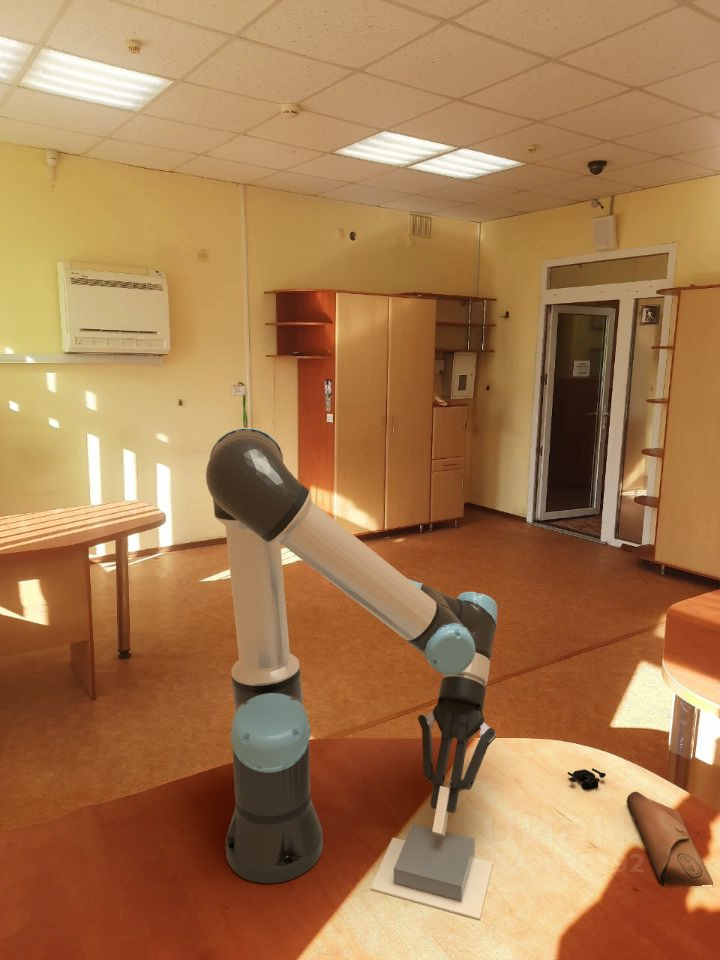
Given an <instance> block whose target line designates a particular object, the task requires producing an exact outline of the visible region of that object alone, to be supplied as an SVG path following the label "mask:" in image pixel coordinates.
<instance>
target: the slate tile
mask: <svg viewBox="0 0 720 960" xmlns="http://www.w3.org/2000/svg"><path fill="white" fill-rule="evenodd" d="M432 830H433V828H432V827H431V828H430V827H428V826H427V827H426V826H423V825H418V824H414V823H412V824H411V827H410V829H409V830H408V833H407V836H406V838H405V843H404V845H403V848H402V850H401V853H400V855H399V857H398V860H397V862H396V865H395V867H394V883H397V884H400V885H404V886H408V887H411V888H415V889H419V890H422V891H426V892H430V893H433V894H437V895H441V896H445V897H448V898H452V899H456V900H459V901H461V900H462V897H463V893H464V889H465V886H466V882H467V878H468V875H469V871H470V867H471V864H472V860H473V857H474V856H475V852H476V851H475V850H476V848H475V847H476V846H475V845H476V844H475V843H476V838H474V837H473V838H472V837H468V836H464V835H460V834H456V833H452V832H448V831H445V836H441V835H437V834H435V833H434V832H432Z"/></svg>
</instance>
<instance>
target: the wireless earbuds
mask: <svg viewBox="0 0 720 960" xmlns="http://www.w3.org/2000/svg"><path fill="white" fill-rule="evenodd" d="M593 772H594V773H593ZM595 773H597V774H598V776H599V778H598V777H596V775H595ZM567 775H568V776H570V777H569V779H568V780H569V781H570V782H572V783H576V782H577V781H578V782H580V783H581V784H580V786H581V789H583V790H585V791H588V790H594V788H595V789H598V788H599V782H600V779H603V778H605V777H606V775H607V774H606V772H601V771H599V770H597V769H595V768H591V771H589V770H588V769H584V768H583V769H579V770H578V769H577V770H575V771H573V772H572V773H571V771H567Z"/></svg>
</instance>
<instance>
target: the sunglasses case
mask: <svg viewBox="0 0 720 960" xmlns="http://www.w3.org/2000/svg"><path fill="white" fill-rule="evenodd" d="M626 805H627V808H628V810H629V813H630V815H631V817H632V818H633V821H634V823H635V826H636V828H637V830H638V833H639V835H640V837H641V840H642V842H643V844H644V847H645V850H646V852H647V854H648V856H649V860H650V862H651V864H652V867H653V870H654V872H655V874H656V876H657V877H656V878H658V880H659V882H660V883H661V884H662V886H663V887H664V886H669V885H670V886H669V887H671V886H673V885H678V886H677V887H680V886H679V885H686V886H685V887H689V886H702V885H712V886H713V884H714V882H713V879H712V877H711V875H710V873H709V870H708V869H707V867H706V865H705V863H704V861H703V860H702V859H703V858H701V856H700V853H699V851H698V849H697V848H696V846H695V843H694V842H693V839H692V838H691V835H690V834H689V832H688V830H687V827H686V825H685V823H684V820H683V819H682V817H681V813H680V812H679V810H678V809H676V810H675V808H672V807H669V806H666V805H664V804H662V803H659V802H658V801H656V800H654V799H650V798H648V797H646V795H644V794H642V793H641V792H638V791H632V792H630V793H629V794H628V796H627V797H626ZM677 810H678V811H677ZM673 887H674V886H673Z"/></svg>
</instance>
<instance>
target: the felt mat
mask: <svg viewBox="0 0 720 960" xmlns="http://www.w3.org/2000/svg"><path fill="white" fill-rule="evenodd" d="M405 841H406V839H405V840H404V839H401V838H396V837H392V838H391V841H390V843H389V845H388V848H387V849H386V852H385V854H384V856H383V859H382V860H381V863H380V865H379V866H378V870H377V872H376V874H375V877H374V879H373V880H372V884H371V885H370V888H369V890H371V891H373V892H376V893H381V894H384V895H388V896H392V897H394V898H395V897H396V898H398V899H401V900H402V899H403V900H406V901H410V902H413V903H417V904H420V905H423V906H427V907H431V908H435V909H438V910H442V911H446V912H450V913H451V914H455V915H456V914H457V915H460V916H463V917H467V918H471V919H474V920H476V921H477V920H478V921H481V918H482V917H481V916H482V913H483V908H484V905H485V900H486V896H487V891H488V887H489V883H490V878H491V874H492V869H493V866H494V862H492V861H490V860H489V861H488V860H486V859H482V858H478V857H474V856H473V860H472V864H471V867H470V871H469V875H468V878H467V882H466V886H465V889H464V893H463V897H462V900H461V901H459V900H456V899H452V898H448V897H445V896H441V895H437V894H433V893H430V892H426V891H422V890H419V889H415V888H411V887H408V886H404V885H400V884H397V883H394V867H395V865H396V862H397V860H398V857H399V855H400V853H401V850H402V848H403V845H404V843H405Z"/></svg>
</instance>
